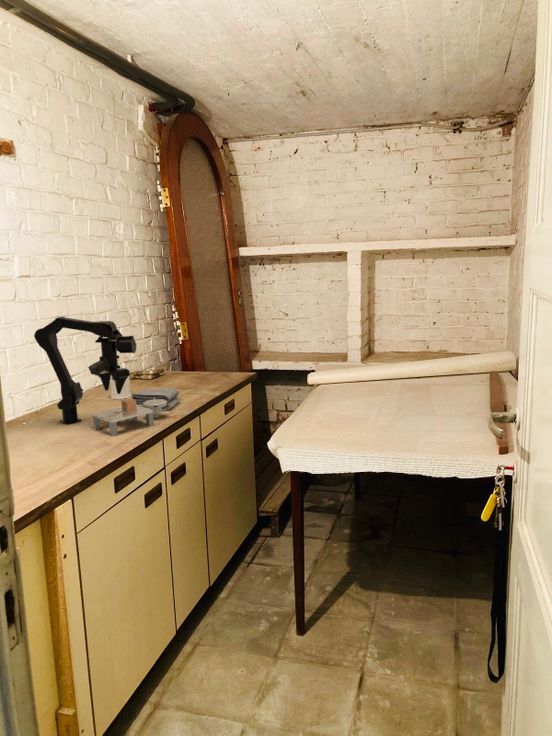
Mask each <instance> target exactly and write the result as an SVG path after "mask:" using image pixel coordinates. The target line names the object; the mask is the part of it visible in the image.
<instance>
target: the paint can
mask: <svg viewBox="0 0 552 736" xmlns="http://www.w3.org/2000/svg"><path fill="white" fill-rule="evenodd" d="M117 360H118V365H119V366H120V368H122V365H121V364H123V365H124V366H126V364H125V363H124V362H122V361H121V356H120V355H119V358H117ZM120 368H119V369H120ZM112 378H113V377H112V376H111V377H110V385H109V389H110V393H111V394H110V395H111V396H110V398H111V399H113V400H125V399H124V398H126V399H130V398H132V392H131V383H130V381H131V380H130V376H128V378H127V379H126V381H125V383H124V385H123V388H122V390H121V393H120V394H117V390H116V385H115V381H114V380H113V379H112Z"/></svg>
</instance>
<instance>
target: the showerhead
mask: <svg viewBox="0 0 552 736" xmlns="http://www.w3.org/2000/svg"><path fill="white" fill-rule="evenodd" d="M166 405H167V401H166V400H163V399H162V400H161V399H155V398H154V400H148V401H145V402H144V403H143V407H145V408H149V409H151V410H153V417H155V418H154V419H157V417H158V418H159V416H160V415H159V414H161V413H162V412H163V411H162V410H161V407H164V406H166Z"/></svg>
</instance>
